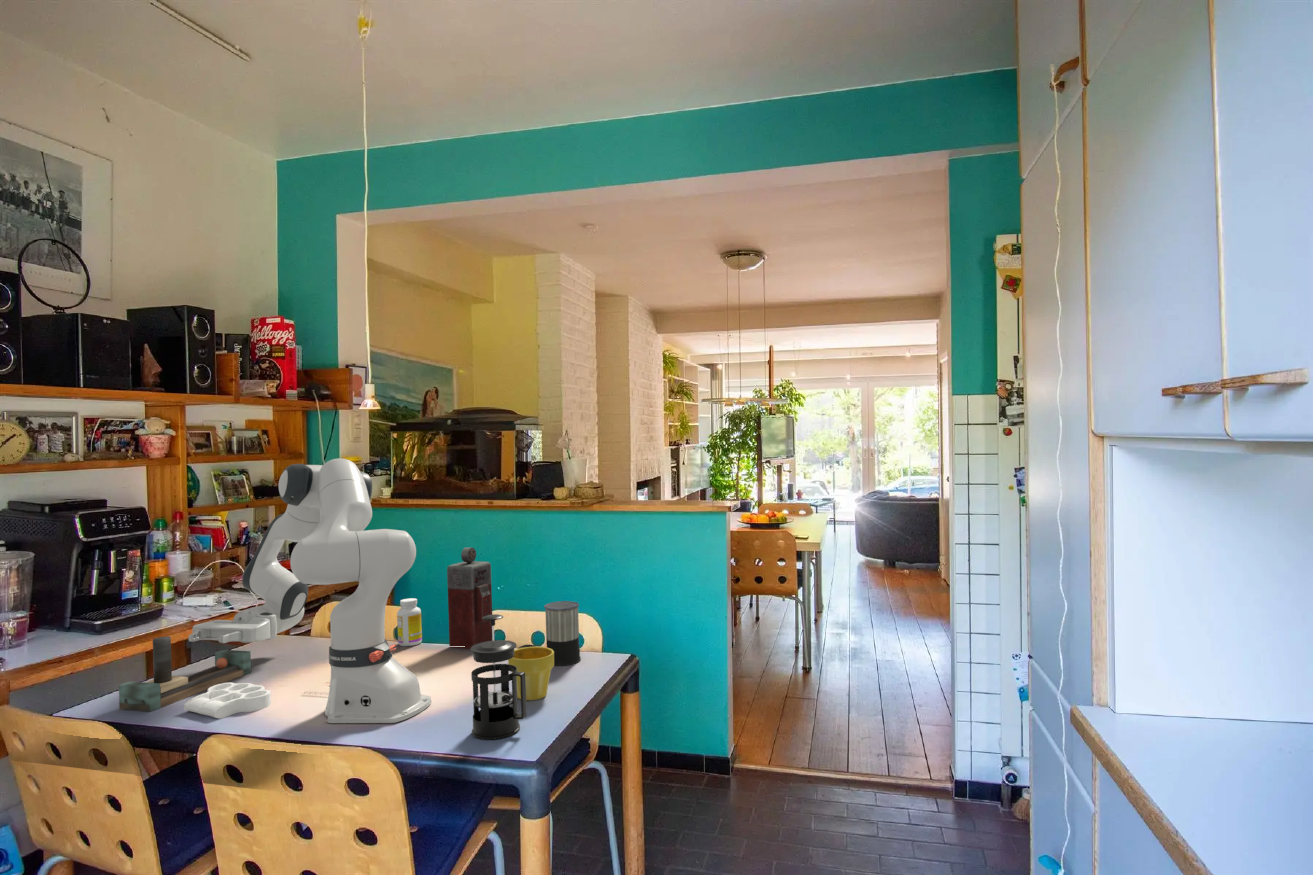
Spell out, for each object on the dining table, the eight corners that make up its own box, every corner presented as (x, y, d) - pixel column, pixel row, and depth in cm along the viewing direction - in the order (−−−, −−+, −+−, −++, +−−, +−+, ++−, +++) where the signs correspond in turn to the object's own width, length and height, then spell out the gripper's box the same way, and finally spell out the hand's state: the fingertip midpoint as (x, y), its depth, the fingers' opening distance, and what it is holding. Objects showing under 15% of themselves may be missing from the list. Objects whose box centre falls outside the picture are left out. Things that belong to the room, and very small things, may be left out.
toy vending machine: (481, 650, 202) (478, 550, 202) (448, 647, 206) (445, 549, 207) (500, 642, 210) (497, 545, 210) (468, 639, 215) (465, 544, 215)
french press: (459, 737, 141) (456, 620, 142) (483, 719, 151) (480, 609, 151) (514, 742, 138) (511, 622, 139) (535, 723, 147) (531, 610, 148)
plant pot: (564, 694, 164) (563, 651, 164) (526, 707, 157) (524, 662, 157) (538, 684, 172) (536, 643, 172) (500, 696, 164) (499, 653, 164)
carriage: (188, 683, 172) (186, 634, 172) (160, 693, 166) (159, 643, 166) (165, 681, 174) (163, 633, 174) (137, 691, 167) (135, 641, 167)
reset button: (227, 667, 186) (227, 657, 186) (224, 668, 185) (224, 658, 185) (219, 667, 186) (219, 657, 186) (216, 668, 185) (216, 658, 185)
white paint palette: (175, 712, 162) (239, 691, 175) (224, 724, 154) (287, 701, 167) (175, 697, 162) (238, 677, 175) (224, 708, 154) (287, 687, 167)
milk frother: (587, 661, 189) (585, 604, 189) (531, 674, 180) (529, 614, 180) (562, 649, 200) (561, 596, 200) (509, 660, 192) (507, 604, 192)
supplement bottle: (425, 640, 215) (424, 597, 215) (416, 646, 208) (414, 602, 208) (404, 640, 215) (402, 597, 215) (394, 646, 209) (392, 602, 209)
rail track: (251, 672, 189) (250, 651, 189) (150, 711, 162) (149, 687, 162) (223, 670, 191) (222, 649, 191) (119, 709, 164) (118, 684, 164)
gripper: (218, 612, 197) (172, 625, 184) (280, 614, 192) (237, 627, 179) (219, 635, 197) (173, 649, 184) (281, 638, 192) (238, 653, 178)
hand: (205, 639), depth 181 cm, fingers open, 8 cm apart
